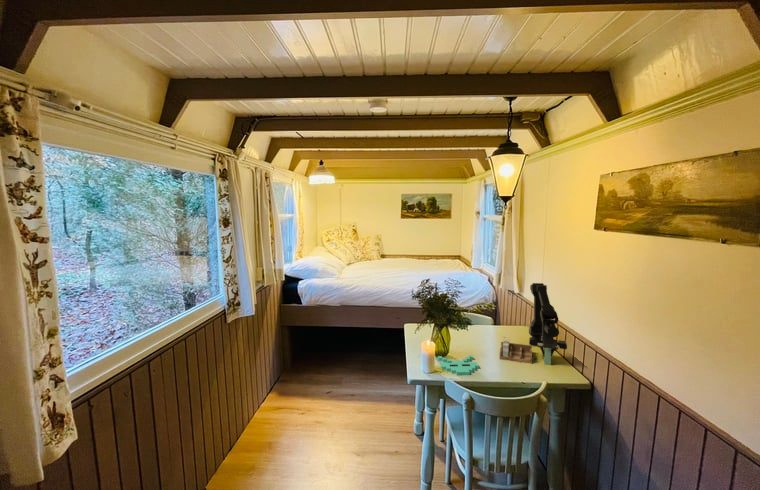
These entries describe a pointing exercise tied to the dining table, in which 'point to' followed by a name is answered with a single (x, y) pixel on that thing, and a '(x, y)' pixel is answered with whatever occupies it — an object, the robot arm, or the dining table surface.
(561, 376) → the dining table surface
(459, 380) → the dining table surface
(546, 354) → the green book
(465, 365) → the alien figure
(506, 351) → the book rack
